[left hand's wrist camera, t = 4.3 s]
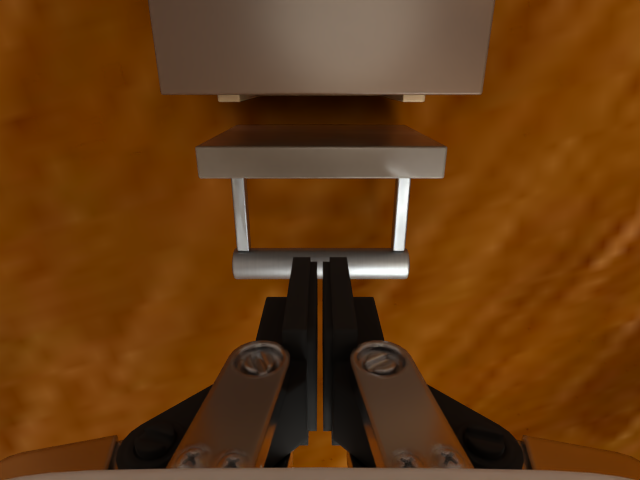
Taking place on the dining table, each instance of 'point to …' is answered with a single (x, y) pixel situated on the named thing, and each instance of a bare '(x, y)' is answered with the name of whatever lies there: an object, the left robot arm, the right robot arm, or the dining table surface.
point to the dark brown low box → (321, 46)
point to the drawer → (321, 162)
